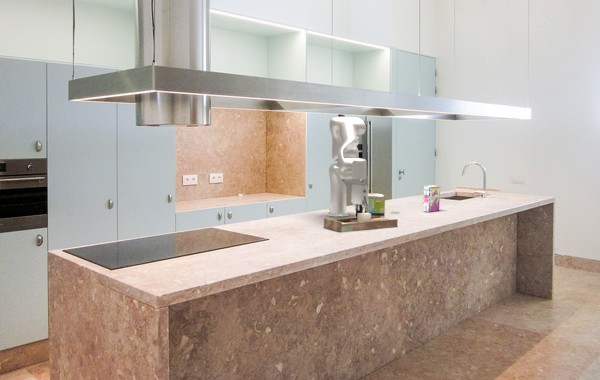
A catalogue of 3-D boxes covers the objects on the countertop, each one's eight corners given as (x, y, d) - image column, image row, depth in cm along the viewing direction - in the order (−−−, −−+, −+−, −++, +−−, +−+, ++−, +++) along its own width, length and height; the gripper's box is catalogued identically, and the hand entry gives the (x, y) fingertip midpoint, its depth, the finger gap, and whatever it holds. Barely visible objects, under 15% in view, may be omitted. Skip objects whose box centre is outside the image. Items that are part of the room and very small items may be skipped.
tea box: (385, 222, 285) (385, 195, 284) (366, 222, 285) (367, 195, 284) (381, 218, 300) (381, 193, 299) (364, 218, 300) (364, 193, 299)
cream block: (357, 221, 267) (357, 213, 267) (365, 221, 269) (365, 212, 269) (362, 222, 263) (362, 214, 262) (370, 222, 265) (371, 213, 264)
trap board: (323, 227, 267) (323, 218, 267) (379, 222, 283) (379, 213, 283) (340, 232, 253) (340, 222, 253) (397, 226, 269) (397, 217, 268)
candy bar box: (429, 212, 324) (429, 186, 322) (422, 211, 328) (423, 186, 326) (439, 211, 331) (440, 185, 330) (433, 210, 335) (433, 185, 333)
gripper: (373, 183, 263) (373, 218, 265) (357, 181, 277) (357, 215, 278) (361, 183, 260) (361, 220, 262) (345, 182, 273) (345, 216, 275)
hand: (359, 217), depth 270 cm, fingers closed
